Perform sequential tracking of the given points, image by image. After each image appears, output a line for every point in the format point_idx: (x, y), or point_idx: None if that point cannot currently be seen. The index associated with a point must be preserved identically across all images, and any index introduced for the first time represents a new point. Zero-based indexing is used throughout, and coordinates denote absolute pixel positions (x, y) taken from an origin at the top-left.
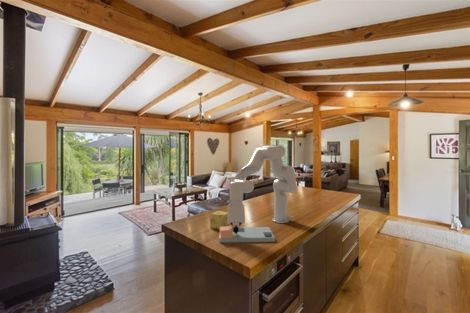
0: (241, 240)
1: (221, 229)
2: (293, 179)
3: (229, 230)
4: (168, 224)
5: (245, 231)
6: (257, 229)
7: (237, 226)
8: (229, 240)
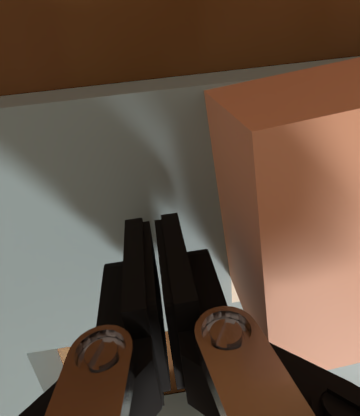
0: (38, 94)
1: None
2: None
3: (354, 108)
4: None
5: (23, 370)
6: None
7: (118, 344)
8: (252, 71)
